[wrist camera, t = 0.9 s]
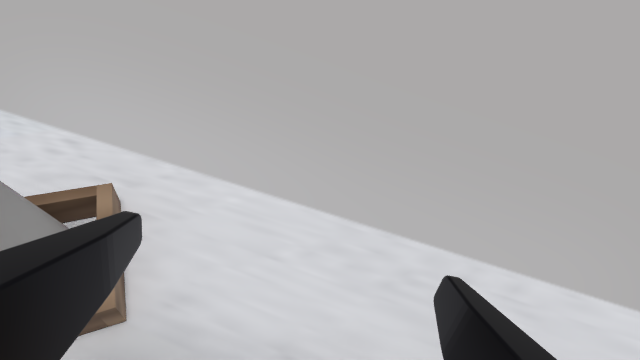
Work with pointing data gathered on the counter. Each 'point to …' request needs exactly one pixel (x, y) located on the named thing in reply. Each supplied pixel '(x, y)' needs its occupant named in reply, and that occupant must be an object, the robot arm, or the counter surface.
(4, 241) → the salt shaker
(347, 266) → the counter surface
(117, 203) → the walnut frame
